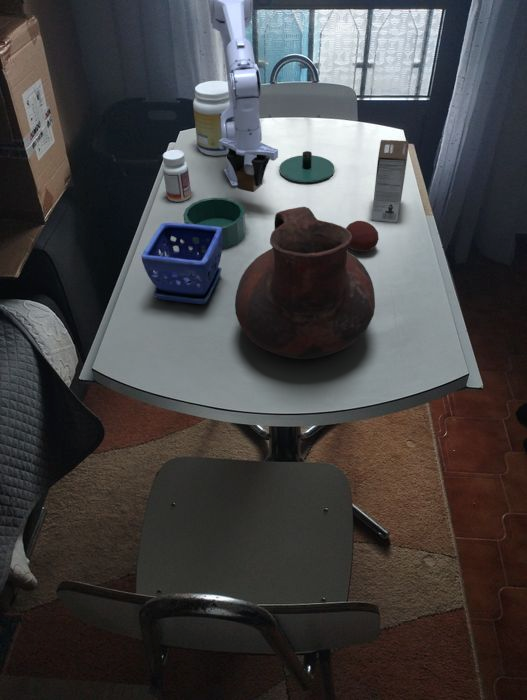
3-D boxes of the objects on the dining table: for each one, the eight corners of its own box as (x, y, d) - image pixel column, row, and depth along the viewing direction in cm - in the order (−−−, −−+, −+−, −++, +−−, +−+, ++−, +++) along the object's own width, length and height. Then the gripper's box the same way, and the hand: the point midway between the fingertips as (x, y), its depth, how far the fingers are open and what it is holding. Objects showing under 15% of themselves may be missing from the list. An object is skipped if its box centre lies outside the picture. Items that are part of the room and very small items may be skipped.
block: (237, 188, 143) (236, 171, 140) (246, 180, 146) (245, 163, 143) (253, 192, 141) (252, 175, 138) (262, 184, 144) (262, 167, 141)
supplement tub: (227, 160, 166) (222, 98, 154) (189, 153, 170) (182, 91, 158) (247, 142, 174) (244, 82, 162) (211, 135, 178) (205, 76, 166)
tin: (181, 223, 143) (178, 203, 139) (237, 214, 145) (235, 193, 141) (193, 254, 133) (190, 233, 129) (251, 243, 135) (250, 222, 132)
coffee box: (373, 201, 148) (380, 138, 136) (400, 203, 146) (409, 140, 135) (370, 221, 141) (377, 156, 130) (398, 223, 140) (407, 158, 129)
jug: (359, 289, 122) (370, 176, 105) (381, 377, 104) (399, 258, 87) (237, 294, 122) (228, 182, 105) (237, 384, 104) (227, 266, 87)
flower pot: (147, 305, 120) (137, 256, 112) (169, 267, 130) (161, 219, 122) (211, 313, 118) (205, 263, 110) (228, 274, 127) (224, 225, 119)
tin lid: (272, 163, 164) (272, 145, 160) (322, 155, 166) (323, 137, 163) (289, 188, 154) (289, 169, 150) (342, 179, 156) (343, 160, 153)
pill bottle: (187, 188, 155) (182, 146, 147) (194, 199, 151) (189, 157, 143) (164, 193, 154) (158, 151, 146) (170, 204, 149) (163, 161, 142)
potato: (348, 260, 130) (350, 236, 126) (337, 240, 136) (339, 216, 131) (381, 255, 131) (384, 232, 126) (368, 235, 137) (371, 212, 132)
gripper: (210, 127, 133) (215, 182, 143) (267, 138, 128) (268, 196, 137) (226, 115, 138) (230, 170, 147) (282, 126, 133) (282, 182, 142)
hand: (249, 182), depth 143 cm, fingers closed on block, 4 cm apart
